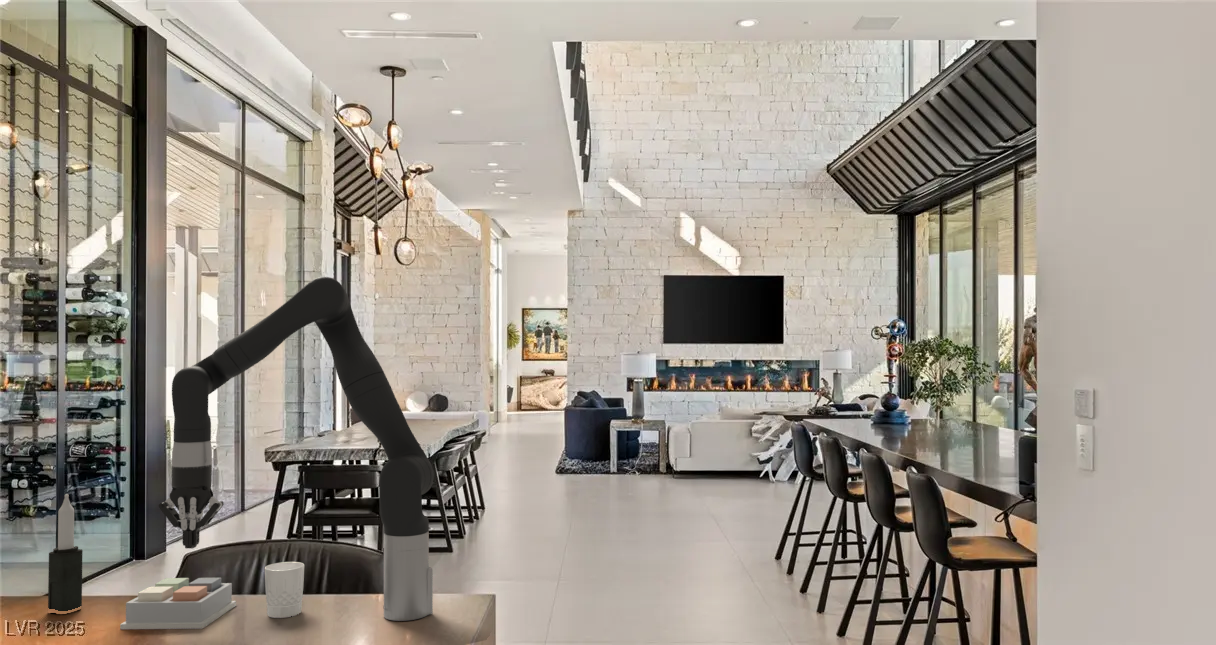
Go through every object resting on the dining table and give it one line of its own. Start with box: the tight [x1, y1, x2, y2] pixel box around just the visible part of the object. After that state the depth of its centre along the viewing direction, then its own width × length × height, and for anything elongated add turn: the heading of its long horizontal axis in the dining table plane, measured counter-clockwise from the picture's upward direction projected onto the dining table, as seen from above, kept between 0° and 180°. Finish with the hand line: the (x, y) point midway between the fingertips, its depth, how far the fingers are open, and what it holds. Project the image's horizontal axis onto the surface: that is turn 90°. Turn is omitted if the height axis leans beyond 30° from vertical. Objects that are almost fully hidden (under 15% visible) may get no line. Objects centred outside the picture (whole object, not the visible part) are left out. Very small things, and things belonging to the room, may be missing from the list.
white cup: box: [264, 561, 305, 619], centre depth 188 cm, size 8×8×10 cm
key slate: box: [189, 577, 222, 592], centre depth 190 cm, size 5×5×3 cm
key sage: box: [154, 577, 190, 592], centre depth 190 cm, size 5×5×3 cm
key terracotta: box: [173, 586, 207, 601], centre depth 183 cm, size 5×5×3 cm
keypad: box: [119, 582, 237, 630], centre depth 186 cm, size 16×16×5 cm
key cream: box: [137, 586, 173, 602], centre depth 183 cm, size 5×5×3 cm
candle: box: [47, 493, 84, 611], centre depth 192 cm, size 5×5×25 cm
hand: (190, 547), depth 184 cm, fingers closed
